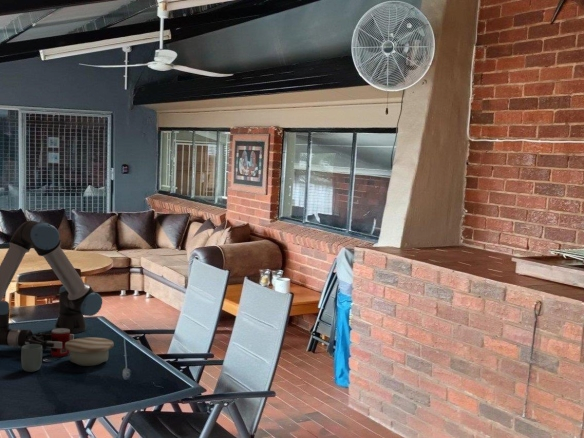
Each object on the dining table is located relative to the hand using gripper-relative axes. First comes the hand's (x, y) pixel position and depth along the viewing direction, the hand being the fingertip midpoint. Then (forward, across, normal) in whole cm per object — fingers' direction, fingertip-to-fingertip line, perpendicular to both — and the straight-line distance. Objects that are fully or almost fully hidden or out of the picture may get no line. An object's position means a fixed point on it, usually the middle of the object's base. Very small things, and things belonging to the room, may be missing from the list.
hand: (68, 341), depth 293 cm
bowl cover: (+13, +8, +1) cm, 15 cm away
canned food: (-3, 0, -6) cm, 7 cm away
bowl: (+13, +8, -6) cm, 16 cm away
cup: (-5, +24, -6) cm, 25 cm away
